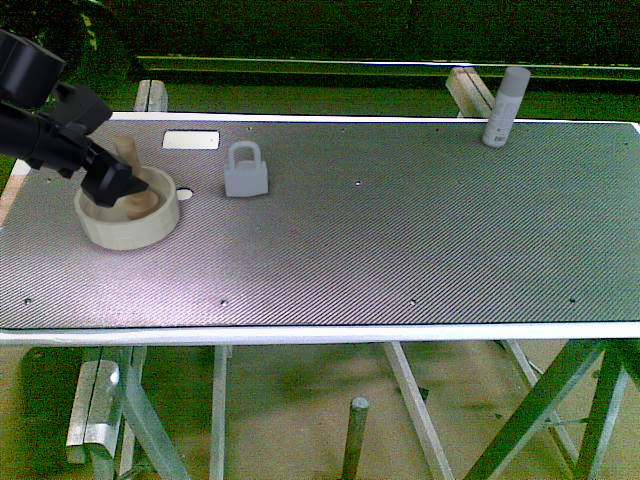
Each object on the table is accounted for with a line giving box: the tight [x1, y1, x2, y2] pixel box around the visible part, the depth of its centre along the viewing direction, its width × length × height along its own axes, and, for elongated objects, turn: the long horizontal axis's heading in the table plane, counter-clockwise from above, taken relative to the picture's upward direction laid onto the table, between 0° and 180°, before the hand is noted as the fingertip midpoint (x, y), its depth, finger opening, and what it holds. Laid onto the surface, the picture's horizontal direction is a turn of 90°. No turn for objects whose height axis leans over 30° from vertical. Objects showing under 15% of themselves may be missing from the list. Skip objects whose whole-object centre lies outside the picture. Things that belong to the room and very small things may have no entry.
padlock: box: [222, 139, 269, 198], centre depth 79 cm, size 7×4×10 cm, turn 102°
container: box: [481, 65, 532, 149], centre depth 93 cm, size 5×5×15 cm
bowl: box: [73, 164, 181, 251], centre depth 74 cm, size 14×14×6 cm
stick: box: [114, 135, 160, 221], centre depth 71 cm, size 5×5×13 cm
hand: (130, 172), depth 70 cm, fingers open, 9 cm apart
